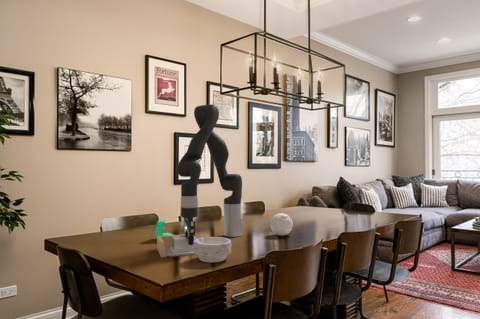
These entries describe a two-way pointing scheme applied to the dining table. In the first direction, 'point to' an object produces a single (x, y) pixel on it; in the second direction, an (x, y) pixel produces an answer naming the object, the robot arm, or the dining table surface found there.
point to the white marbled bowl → (212, 248)
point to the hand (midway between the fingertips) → (189, 242)
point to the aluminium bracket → (181, 243)
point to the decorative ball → (281, 224)
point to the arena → (170, 246)
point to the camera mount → (159, 228)
